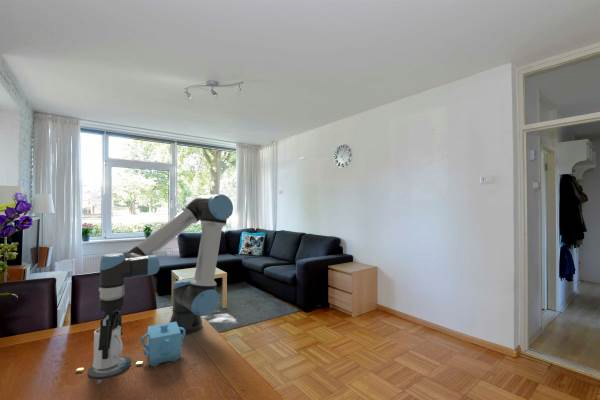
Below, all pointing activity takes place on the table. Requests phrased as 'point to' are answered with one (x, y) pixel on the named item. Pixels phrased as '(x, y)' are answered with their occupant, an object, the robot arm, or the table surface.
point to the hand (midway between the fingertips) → (110, 360)
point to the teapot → (163, 343)
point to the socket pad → (109, 370)
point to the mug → (115, 346)
